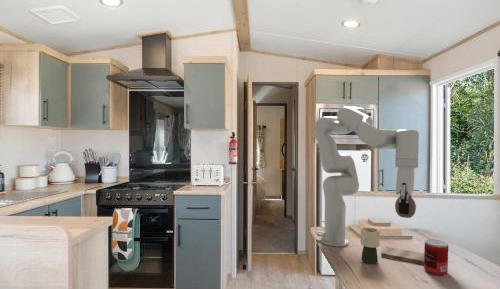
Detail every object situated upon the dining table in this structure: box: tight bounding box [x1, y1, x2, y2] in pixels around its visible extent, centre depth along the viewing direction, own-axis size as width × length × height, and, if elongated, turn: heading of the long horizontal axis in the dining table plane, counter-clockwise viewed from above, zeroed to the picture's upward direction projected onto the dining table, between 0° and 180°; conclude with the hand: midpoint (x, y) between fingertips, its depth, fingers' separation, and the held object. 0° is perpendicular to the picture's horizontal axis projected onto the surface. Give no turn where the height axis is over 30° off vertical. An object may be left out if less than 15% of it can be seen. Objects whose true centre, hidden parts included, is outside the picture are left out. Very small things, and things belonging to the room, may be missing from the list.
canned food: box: [423, 238, 449, 277], centre depth 121 cm, size 8×8×11 cm
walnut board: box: [380, 246, 424, 266], centre depth 136 cm, size 16×10×2 cm, turn 58°
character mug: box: [359, 226, 381, 264], centre depth 130 cm, size 11×7×13 cm, turn 133°
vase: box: [394, 195, 417, 219], centre depth 119 cm, size 7×7×9 cm
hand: (405, 211), depth 119 cm, fingers closed on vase, 6 cm apart
